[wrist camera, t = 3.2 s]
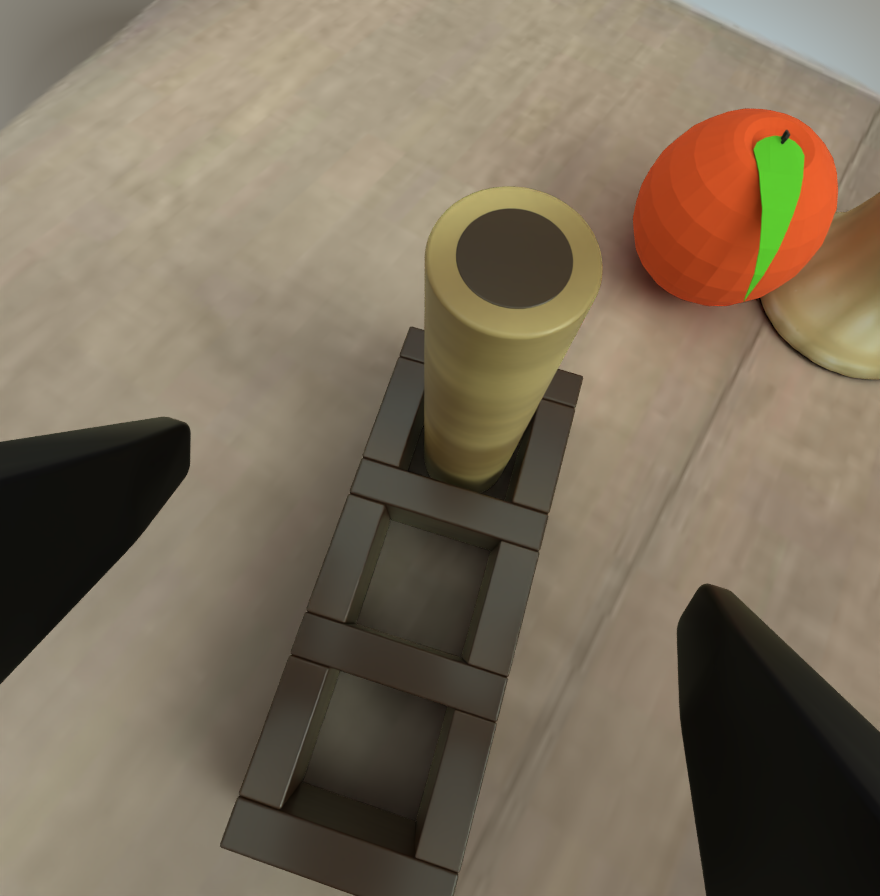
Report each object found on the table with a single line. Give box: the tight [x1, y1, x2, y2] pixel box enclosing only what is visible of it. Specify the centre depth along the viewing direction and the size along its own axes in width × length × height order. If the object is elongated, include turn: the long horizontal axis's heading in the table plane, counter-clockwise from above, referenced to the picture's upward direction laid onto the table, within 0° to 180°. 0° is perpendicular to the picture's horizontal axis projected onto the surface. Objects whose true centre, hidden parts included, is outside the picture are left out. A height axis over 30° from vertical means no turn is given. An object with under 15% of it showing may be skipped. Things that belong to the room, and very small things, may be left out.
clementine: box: [633, 109, 838, 306], centre depth 21 cm, size 8×7×7 cm
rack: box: [220, 327, 583, 896], centre depth 19 cm, size 17×6×3 cm, turn 163°
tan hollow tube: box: [424, 187, 603, 493], centre depth 16 cm, size 3×3×12 cm
